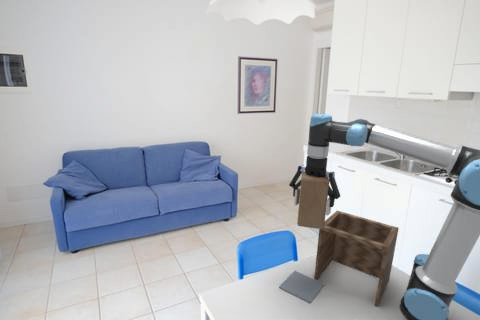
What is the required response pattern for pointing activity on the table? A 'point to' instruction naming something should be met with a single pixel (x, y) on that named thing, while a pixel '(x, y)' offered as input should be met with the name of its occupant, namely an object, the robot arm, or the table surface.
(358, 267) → the cubby
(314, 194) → the wooden block
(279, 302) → the table surface
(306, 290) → the mat
